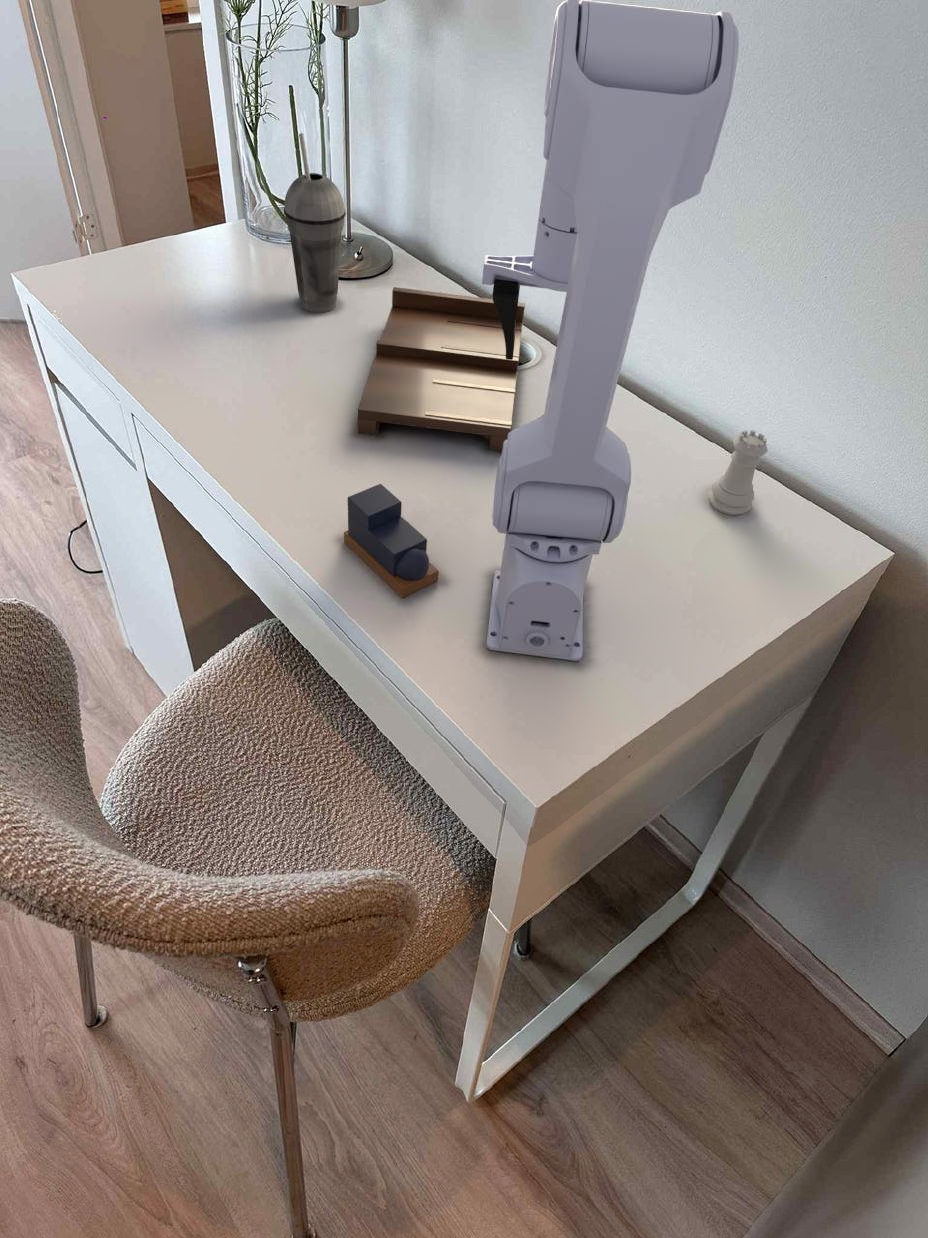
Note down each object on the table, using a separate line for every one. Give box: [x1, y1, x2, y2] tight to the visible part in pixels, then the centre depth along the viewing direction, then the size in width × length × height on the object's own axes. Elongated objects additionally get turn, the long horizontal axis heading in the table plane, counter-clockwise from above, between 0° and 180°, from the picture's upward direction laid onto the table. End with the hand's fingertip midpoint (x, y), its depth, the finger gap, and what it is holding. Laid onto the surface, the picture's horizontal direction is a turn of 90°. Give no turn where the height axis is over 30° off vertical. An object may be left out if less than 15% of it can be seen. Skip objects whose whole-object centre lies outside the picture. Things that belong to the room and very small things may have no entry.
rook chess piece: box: [708, 429, 768, 516], centre depth 88 cm, size 4×4×8 cm
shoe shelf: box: [356, 286, 526, 453], centre depth 100 cm, size 24×16×5 cm, turn 174°
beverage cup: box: [283, 132, 347, 314], centre depth 105 cm, size 7×7×20 cm
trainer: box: [343, 483, 440, 599], centre depth 78 cm, size 9×4×5 cm, turn 39°
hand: (547, 359), depth 88 cm, fingers open, 7 cm apart
